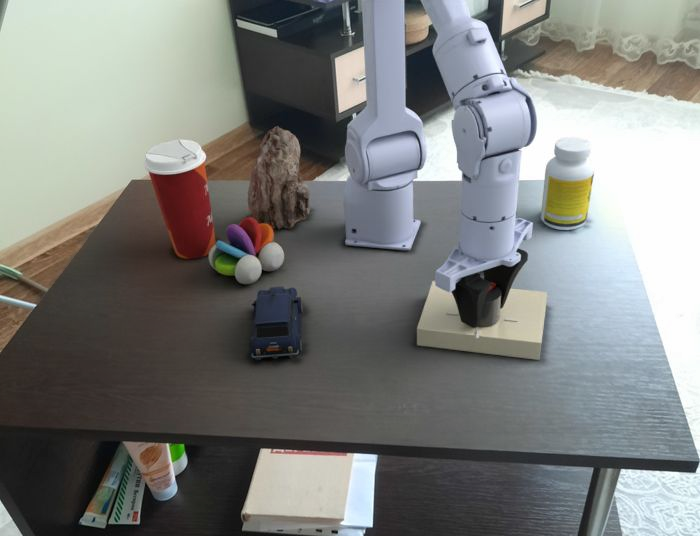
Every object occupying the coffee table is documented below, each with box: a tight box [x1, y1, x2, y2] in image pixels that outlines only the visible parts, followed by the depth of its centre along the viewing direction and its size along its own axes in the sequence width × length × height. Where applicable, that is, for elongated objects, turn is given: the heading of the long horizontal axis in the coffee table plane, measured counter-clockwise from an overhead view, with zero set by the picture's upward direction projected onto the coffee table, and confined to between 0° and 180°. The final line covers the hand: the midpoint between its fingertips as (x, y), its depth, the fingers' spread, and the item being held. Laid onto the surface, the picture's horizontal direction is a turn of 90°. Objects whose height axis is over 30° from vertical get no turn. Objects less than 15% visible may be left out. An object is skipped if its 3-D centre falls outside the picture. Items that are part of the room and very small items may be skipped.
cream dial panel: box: [416, 280, 548, 361], centre depth 86 cm, size 14×11×3 cm
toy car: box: [248, 286, 303, 361], centre depth 87 cm, size 6×12×6 cm, turn 2°
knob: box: [477, 282, 501, 327], centre depth 84 cm, size 4×4×4 cm
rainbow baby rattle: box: [208, 216, 285, 285], centre depth 98 cm, size 8×10×7 cm
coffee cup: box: [143, 139, 217, 260], centre depth 101 cm, size 8×8×15 cm
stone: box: [247, 125, 311, 230], centre depth 106 cm, size 15×8×10 cm
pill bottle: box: [540, 136, 595, 231], centre depth 102 cm, size 6×6×12 cm
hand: (482, 314), depth 84 cm, fingers closed on knob, 4 cm apart
